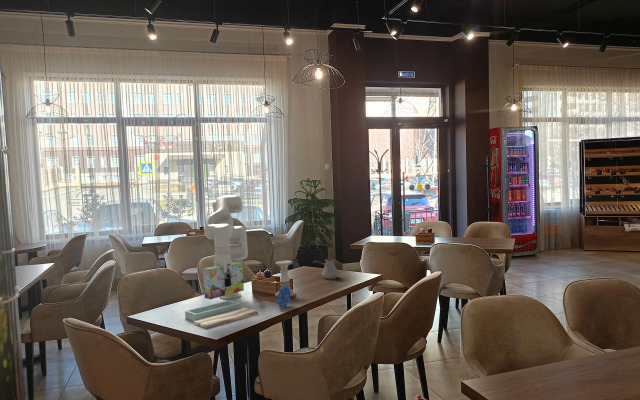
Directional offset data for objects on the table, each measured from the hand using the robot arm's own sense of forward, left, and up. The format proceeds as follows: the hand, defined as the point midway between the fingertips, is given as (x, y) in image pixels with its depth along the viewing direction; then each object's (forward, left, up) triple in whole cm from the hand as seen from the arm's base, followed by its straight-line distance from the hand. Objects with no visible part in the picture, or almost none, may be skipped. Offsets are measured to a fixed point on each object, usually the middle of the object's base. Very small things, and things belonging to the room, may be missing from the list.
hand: (224, 285), depth 232 cm
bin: (-13, 0, -17) cm, 22 cm away
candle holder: (-13, +49, -17) cm, 54 cm away
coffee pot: (-24, +93, -17) cm, 98 cm away
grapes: (+6, +32, -17) cm, 37 cm away
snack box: (0, 0, -5) cm, 5 cm away
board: (0, 0, -17) cm, 17 cm away
